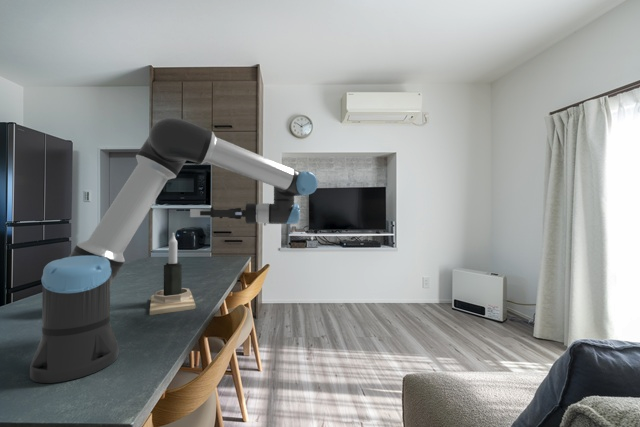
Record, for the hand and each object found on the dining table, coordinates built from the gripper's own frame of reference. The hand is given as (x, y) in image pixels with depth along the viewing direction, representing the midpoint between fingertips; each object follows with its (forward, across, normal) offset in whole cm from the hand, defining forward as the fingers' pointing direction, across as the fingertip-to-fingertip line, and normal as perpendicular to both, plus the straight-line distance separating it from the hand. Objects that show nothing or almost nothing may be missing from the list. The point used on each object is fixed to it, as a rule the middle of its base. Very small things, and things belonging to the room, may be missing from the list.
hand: (195, 213), depth 104 cm
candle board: (+10, +7, -34) cm, 36 cm away
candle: (+10, +9, -33) cm, 35 cm away
